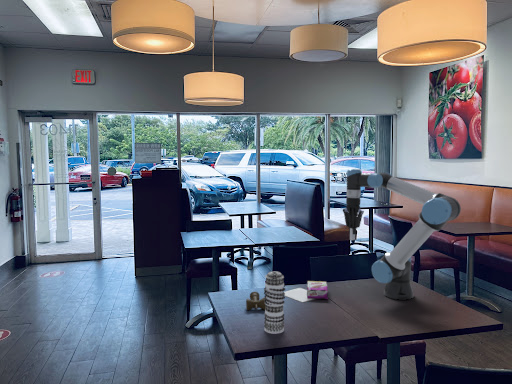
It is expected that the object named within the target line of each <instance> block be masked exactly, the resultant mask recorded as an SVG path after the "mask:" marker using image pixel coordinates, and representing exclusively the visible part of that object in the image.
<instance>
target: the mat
mask: <svg viewBox="0 0 512 384" xmlns="http://www.w3.org/2000/svg"><path fill="white" fill-rule="evenodd" d="M283 292H284V293H285V295H284V297H285V298H286V297H287V298H289V299H292V300H295V301H297V302H300V303H306V302H309V301H313V300H314V299H313V298H307V289H304V288H302V287H297V288H294V289H290V290H285V291H283Z"/></svg>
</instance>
